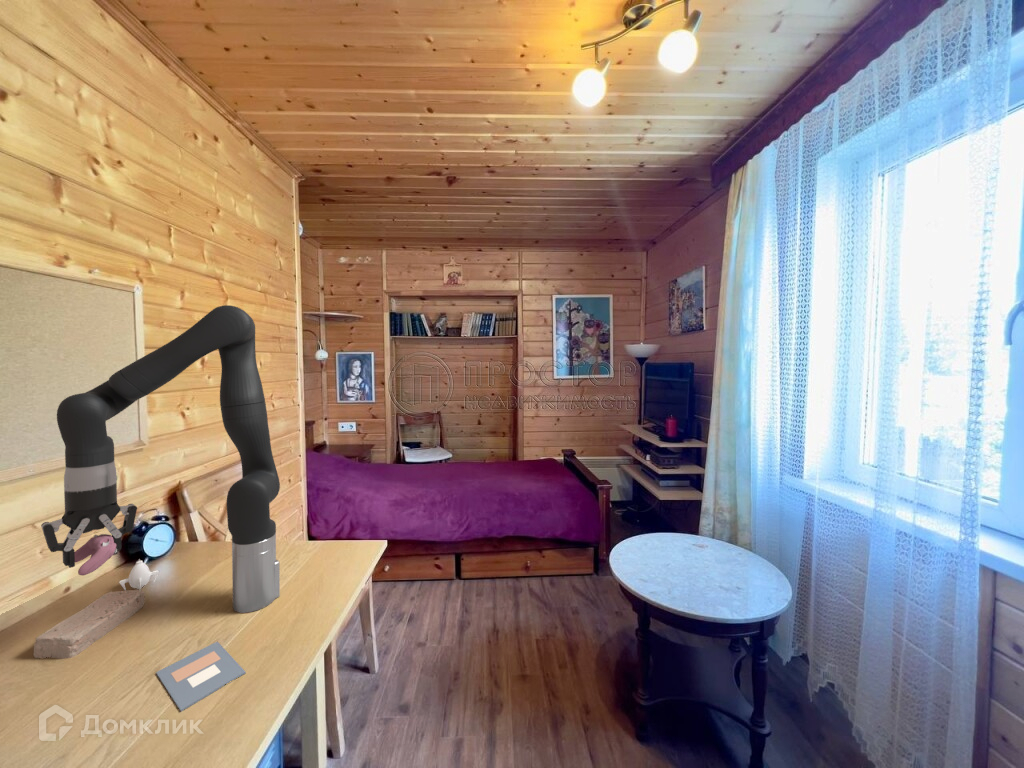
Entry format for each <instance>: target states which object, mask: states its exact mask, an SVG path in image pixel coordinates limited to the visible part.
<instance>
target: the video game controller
mask: <svg viewBox="0 0 1024 768" xmlns="http://www.w3.org/2000/svg"><path fill="white" fill-rule="evenodd" d="M74 552H75V564H76V563H79V562H81V561H83V560H85V559H87V558H88V557H90V558H89V559H88V560H86V561H84V563H83V564H82V565H81V566H80V567H79V568H78V570H77V574H78V575H79V576H86V575H90V574H91V573H94V572H95V571H97V570H98V569H99V568H100V567H102V566H103V565H104V564H105V563H106V562H107V561H108V560H110V559H111V558H113V556H115V555H114V554H115V553H116V552H117V549H116V543H114V540H113V537H112V534H107V533H103V534H99V535H97V534H95V535H94V536H92V537H90V538H89V539H88V540H87V541H86V542H85V543H84V544H83V545H82V546H80V547H79V548H78V549H77V550H74Z"/></svg>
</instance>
